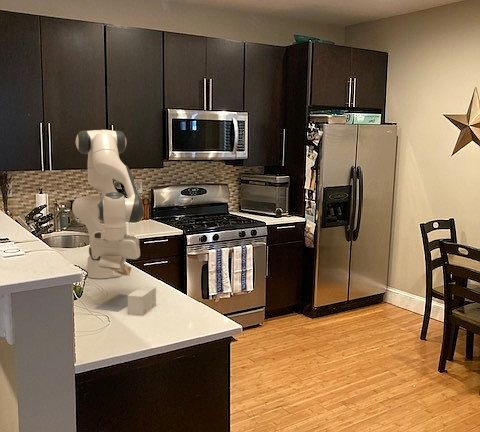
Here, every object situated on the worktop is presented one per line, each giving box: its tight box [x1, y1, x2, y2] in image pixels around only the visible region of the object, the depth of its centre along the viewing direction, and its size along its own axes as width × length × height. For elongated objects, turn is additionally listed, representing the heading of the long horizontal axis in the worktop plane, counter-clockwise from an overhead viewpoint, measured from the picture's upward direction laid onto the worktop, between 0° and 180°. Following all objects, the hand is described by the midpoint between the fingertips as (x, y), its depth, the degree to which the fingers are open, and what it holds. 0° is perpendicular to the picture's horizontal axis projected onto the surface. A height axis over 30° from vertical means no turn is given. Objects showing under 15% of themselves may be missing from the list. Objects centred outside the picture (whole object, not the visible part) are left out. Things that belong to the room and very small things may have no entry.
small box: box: [127, 285, 157, 317], centre depth 203 cm, size 8×6×13 cm
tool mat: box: [93, 293, 129, 313], centre depth 212 cm, size 20×11×1 cm, turn 163°
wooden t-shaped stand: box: [99, 255, 132, 277], centre depth 210 cm, size 16×9×4 cm, turn 164°
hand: (116, 268), depth 208 cm, fingers closed on wooden t-shaped stand, 3 cm apart
